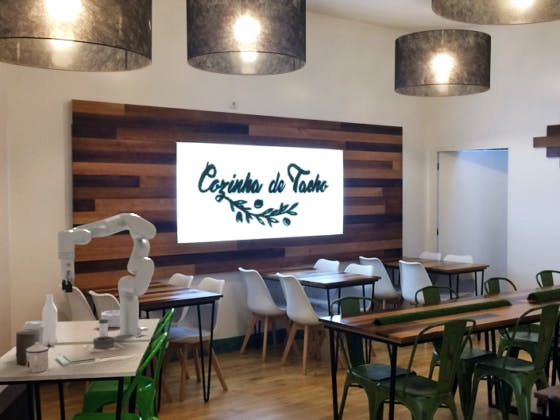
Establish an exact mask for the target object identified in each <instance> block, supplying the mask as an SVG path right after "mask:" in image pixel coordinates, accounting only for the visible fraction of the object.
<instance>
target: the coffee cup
mask: <svg viewBox="0 0 560 420" xmlns="http://www.w3.org/2000/svg"><path fill="white" fill-rule="evenodd" d="M44 327H45V324H44V323H43V321H42V320H30V321H26V322H24V324H23V327H22V328H23V330H27V329H28V330H38V331H40V332H39V333H40V334H39V343H40V344H41V345H43V346H44V344H43V334H44Z"/></svg>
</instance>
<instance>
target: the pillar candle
mask: <svg viewBox="0 0 560 420" xmlns="http://www.w3.org/2000/svg"><path fill="white" fill-rule="evenodd" d="M39 332H40V331H38V330H28V329H27V330H24V329H23V330H19V331H16V335H15V339H16V340H15V341H16V342H15V343H16V344H15V345H16V346H15V359H16V360H15V361H16V362H15V364H16V365H19V366H27V361H26V349H27V348H29V347H31V346H33V345H35V342H39V334H40V333H39Z"/></svg>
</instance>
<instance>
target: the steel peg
mask: <svg viewBox="0 0 560 420" xmlns="http://www.w3.org/2000/svg"><path fill="white" fill-rule="evenodd" d="M98 326H99V327H98V330H99V331H98V337H99V340H107V339H108V337H109V327H108V319H101V318H100V319H98Z"/></svg>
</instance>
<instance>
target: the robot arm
mask: <svg viewBox="0 0 560 420" xmlns="http://www.w3.org/2000/svg"><path fill="white" fill-rule="evenodd" d="M125 230H128V231H129V235H130V236H131V239H132V241H133V248H132V251H131V254H130V257H129V260H128V262H127V265H126V267H127V271H128V272H129V273H130V274H133V275H125V276H122V277H120V279H119V280H118V283H117V290H118V294H119V310H120V327H119V332H118V333H117V334H116V337H122V336H124V337H125V336H133V337H135V338H139V336H140V337H142V336H143V335H142V334H143V333H142V332H147V331H149V328H148V327H146V326H145V327H141V326H140V325H139V321H140V320H139V318H140V317H139V316H140V315H139V298H138V297H140V296H143V295H145V294H146V293H147V291H148V288H149V286H150V283H151V281H152V278H153V275H154V272H155V263H154V260H152V259H151V258H149V253H150V251H151V250H150V248H151V247H150V246H151V245H150V244H151V243H150V241H149V240H151V239H153V238H154V237H155V236H156V235H157V229H156V227H155V225H154V224H153V223H152V222H150V221H148V220H147V219H144V218H142V216H140V215H137V214H135V213H129V212H128V213H127V212H126V213H119V214H117V215H113V216H109V217H106V218H104V219H101V220H96V221H93V222H90V223H85V224H82V225H79V226H76V227H73V228H71V229H69V230H68V229H64V230H59V231H58V233H57V256H58V257H57V258H58V260H60V278H61V290H62V291H64V292H65V293H66V294H68V293H69V294H70V293H73V291H74V289H73V288H74V287H73V280H74V279H75V268H74V267H75V264H74V260H75V259H76V258H75V256H76V255H75V245H80V246H81V245H87V244H89V243H90V242H91V241H92V238H93V239H94V238H103V237H108V236H111V235H115V234H116V233H119V232H122V231H125ZM134 275H135V276H134Z"/></svg>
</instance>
